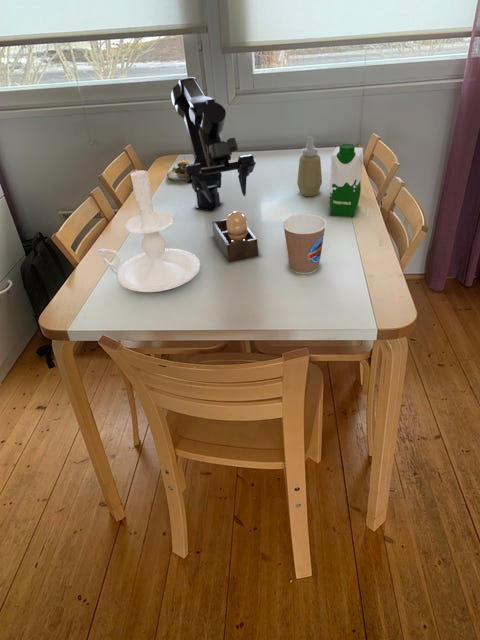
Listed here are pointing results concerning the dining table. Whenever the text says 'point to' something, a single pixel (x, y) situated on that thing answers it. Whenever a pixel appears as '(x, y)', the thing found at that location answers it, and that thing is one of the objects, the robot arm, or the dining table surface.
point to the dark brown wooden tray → (236, 249)
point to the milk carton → (345, 180)
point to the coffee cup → (304, 241)
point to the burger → (178, 171)
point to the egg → (236, 226)
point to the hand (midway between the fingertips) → (228, 198)
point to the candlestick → (152, 248)
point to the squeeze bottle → (309, 170)
